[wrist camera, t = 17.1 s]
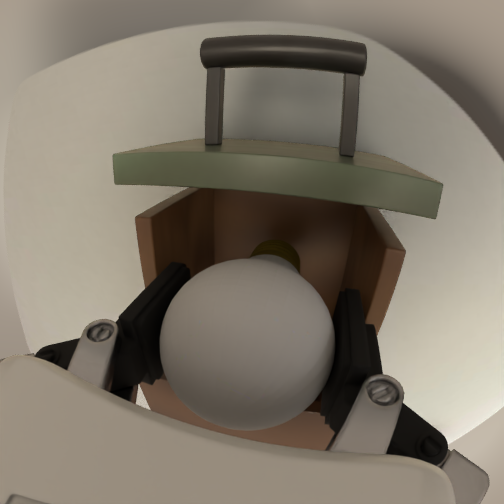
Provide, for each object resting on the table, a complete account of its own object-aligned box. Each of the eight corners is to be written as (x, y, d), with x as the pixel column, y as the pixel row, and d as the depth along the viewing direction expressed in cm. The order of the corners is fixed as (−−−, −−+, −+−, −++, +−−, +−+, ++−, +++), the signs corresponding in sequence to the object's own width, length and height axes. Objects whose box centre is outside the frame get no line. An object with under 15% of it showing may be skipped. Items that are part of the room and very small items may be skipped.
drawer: (201, 65, 14) (116, 33, 7) (390, 77, 12) (450, 39, 5) (204, 312, 22) (158, 389, 15) (344, 335, 20) (345, 426, 13)
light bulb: (307, 312, 16) (283, 469, 8) (216, 279, 17) (131, 414, 8) (348, 227, 14) (382, 392, 5) (241, 188, 14) (118, 297, 5)
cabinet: (199, 277, 22) (132, 368, 13) (359, 301, 19) (372, 416, 11) (209, 386, 28) (176, 459, 19) (320, 406, 26) (310, 487, 17)
